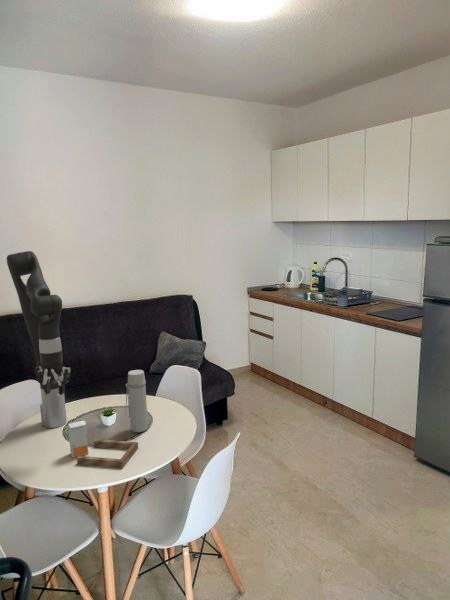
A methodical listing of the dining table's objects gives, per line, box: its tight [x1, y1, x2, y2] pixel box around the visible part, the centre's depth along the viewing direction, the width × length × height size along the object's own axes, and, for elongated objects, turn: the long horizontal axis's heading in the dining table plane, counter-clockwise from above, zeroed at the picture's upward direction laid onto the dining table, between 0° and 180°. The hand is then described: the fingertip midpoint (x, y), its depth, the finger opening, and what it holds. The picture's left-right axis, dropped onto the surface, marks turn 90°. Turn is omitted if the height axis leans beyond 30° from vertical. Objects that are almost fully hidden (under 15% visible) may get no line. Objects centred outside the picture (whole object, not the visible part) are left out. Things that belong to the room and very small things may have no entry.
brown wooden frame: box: [76, 438, 139, 469], centre depth 159 cm, size 18×14×2 cm
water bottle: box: [124, 369, 149, 433], centre depth 178 cm, size 9×8×25 cm
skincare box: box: [67, 419, 89, 459], centre depth 160 cm, size 6×4×12 cm
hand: (54, 393), depth 159 cm, fingers open, 5 cm apart
